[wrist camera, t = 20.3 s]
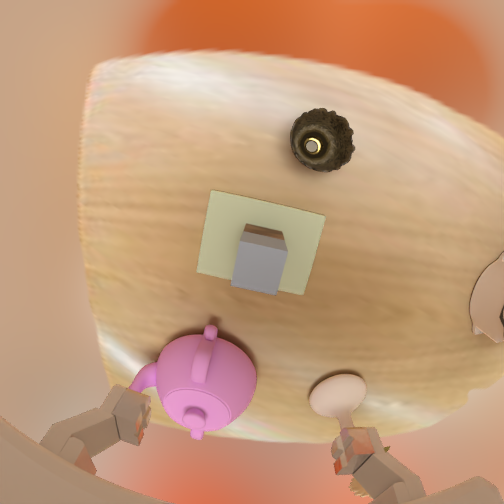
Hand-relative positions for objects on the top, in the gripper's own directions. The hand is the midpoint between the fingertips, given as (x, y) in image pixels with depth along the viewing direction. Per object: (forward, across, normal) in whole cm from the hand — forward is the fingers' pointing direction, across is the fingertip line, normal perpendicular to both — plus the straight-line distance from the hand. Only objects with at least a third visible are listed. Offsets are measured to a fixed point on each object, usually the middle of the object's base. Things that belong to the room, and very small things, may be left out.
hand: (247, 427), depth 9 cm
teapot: (+31, +6, +24) cm, 40 cm away
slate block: (+25, 0, 0) cm, 25 cm away
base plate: (+31, 0, 0) cm, 31 cm away
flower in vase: (+31, -22, +25) cm, 46 cm away
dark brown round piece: (+31, -4, -15) cm, 35 cm away
